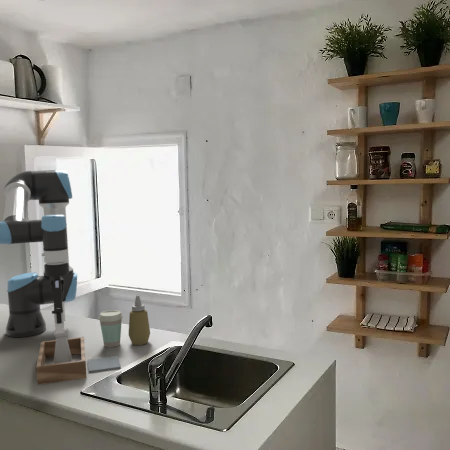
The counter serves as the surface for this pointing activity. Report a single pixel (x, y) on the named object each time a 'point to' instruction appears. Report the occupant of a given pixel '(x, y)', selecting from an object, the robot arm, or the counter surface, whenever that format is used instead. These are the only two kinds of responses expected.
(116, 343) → the coffee cup
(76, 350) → the crate
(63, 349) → the salt shaker
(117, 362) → the mat
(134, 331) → the squeeze bottle
